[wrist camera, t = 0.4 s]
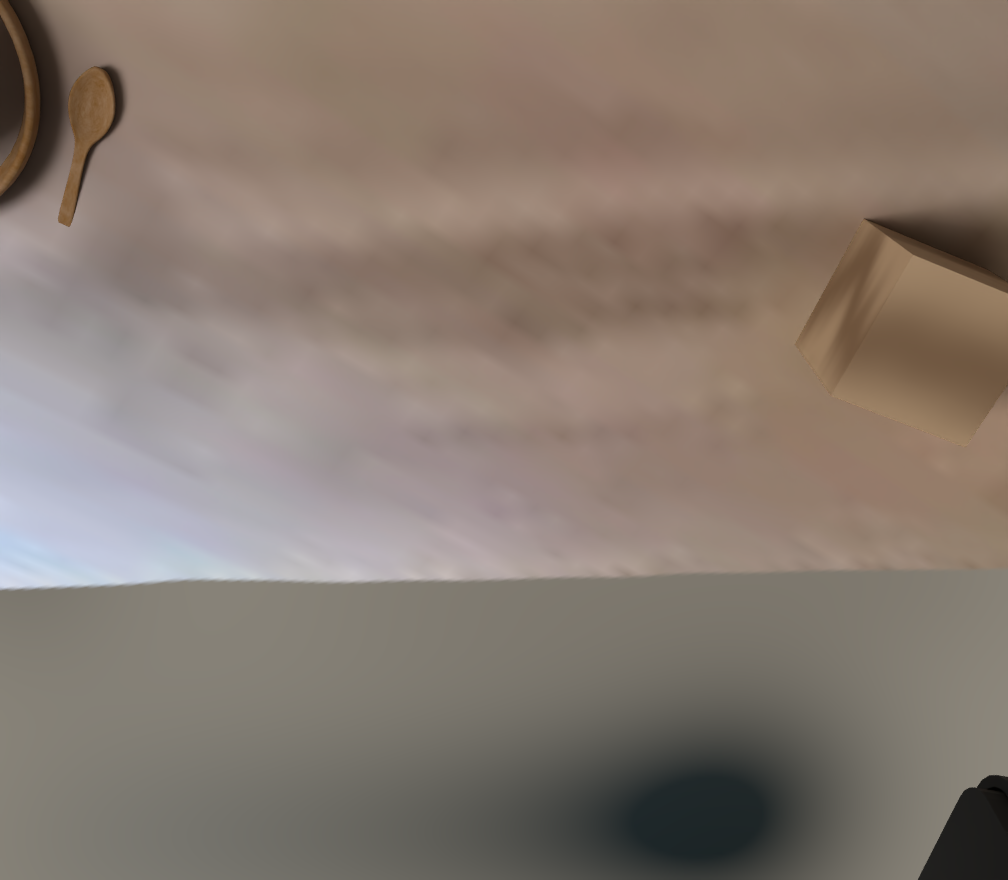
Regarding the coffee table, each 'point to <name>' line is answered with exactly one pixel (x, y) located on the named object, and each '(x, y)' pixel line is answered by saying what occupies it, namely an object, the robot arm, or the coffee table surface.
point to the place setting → (85, 107)
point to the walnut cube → (911, 334)
